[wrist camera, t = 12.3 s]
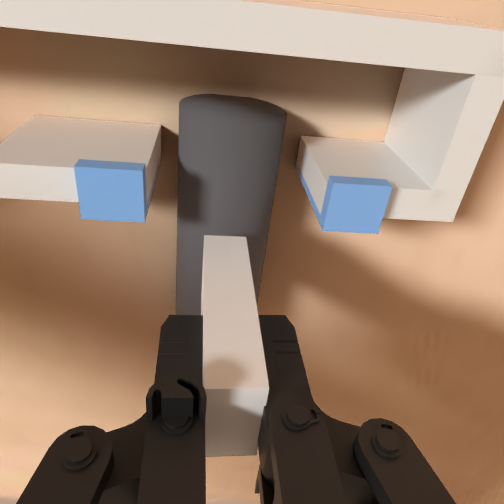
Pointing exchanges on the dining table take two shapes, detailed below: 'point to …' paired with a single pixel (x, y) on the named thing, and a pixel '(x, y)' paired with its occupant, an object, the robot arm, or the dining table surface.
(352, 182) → the white u-shaped bracket
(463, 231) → the dining table surface
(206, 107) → the dark gray cylinder
